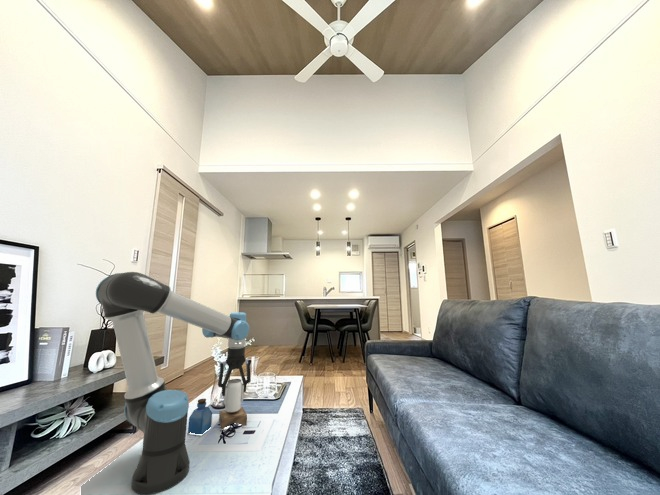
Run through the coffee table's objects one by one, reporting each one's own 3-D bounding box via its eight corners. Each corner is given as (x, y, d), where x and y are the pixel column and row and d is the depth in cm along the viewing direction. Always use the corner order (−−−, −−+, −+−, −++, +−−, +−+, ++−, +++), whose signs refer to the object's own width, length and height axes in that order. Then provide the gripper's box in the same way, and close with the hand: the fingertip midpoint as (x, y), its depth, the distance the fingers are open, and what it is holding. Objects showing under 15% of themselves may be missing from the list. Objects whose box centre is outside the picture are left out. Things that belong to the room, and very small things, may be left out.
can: (235, 413, 114) (237, 383, 116) (221, 412, 116) (223, 382, 118) (243, 407, 120) (244, 379, 123) (230, 406, 122) (232, 378, 124)
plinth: (221, 430, 110) (222, 419, 111) (218, 420, 119) (219, 410, 120) (246, 425, 115) (247, 414, 116) (242, 416, 124) (242, 405, 124)
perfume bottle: (198, 427, 113) (200, 396, 116) (211, 428, 112) (213, 397, 114) (187, 434, 108) (190, 402, 110) (201, 436, 106) (203, 403, 108)
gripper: (214, 350, 115) (210, 409, 111) (259, 346, 124) (257, 400, 120) (212, 347, 121) (208, 402, 117) (255, 343, 130) (253, 395, 126)
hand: (233, 401), depth 118 cm, fingers closed on can, 6 cm apart
